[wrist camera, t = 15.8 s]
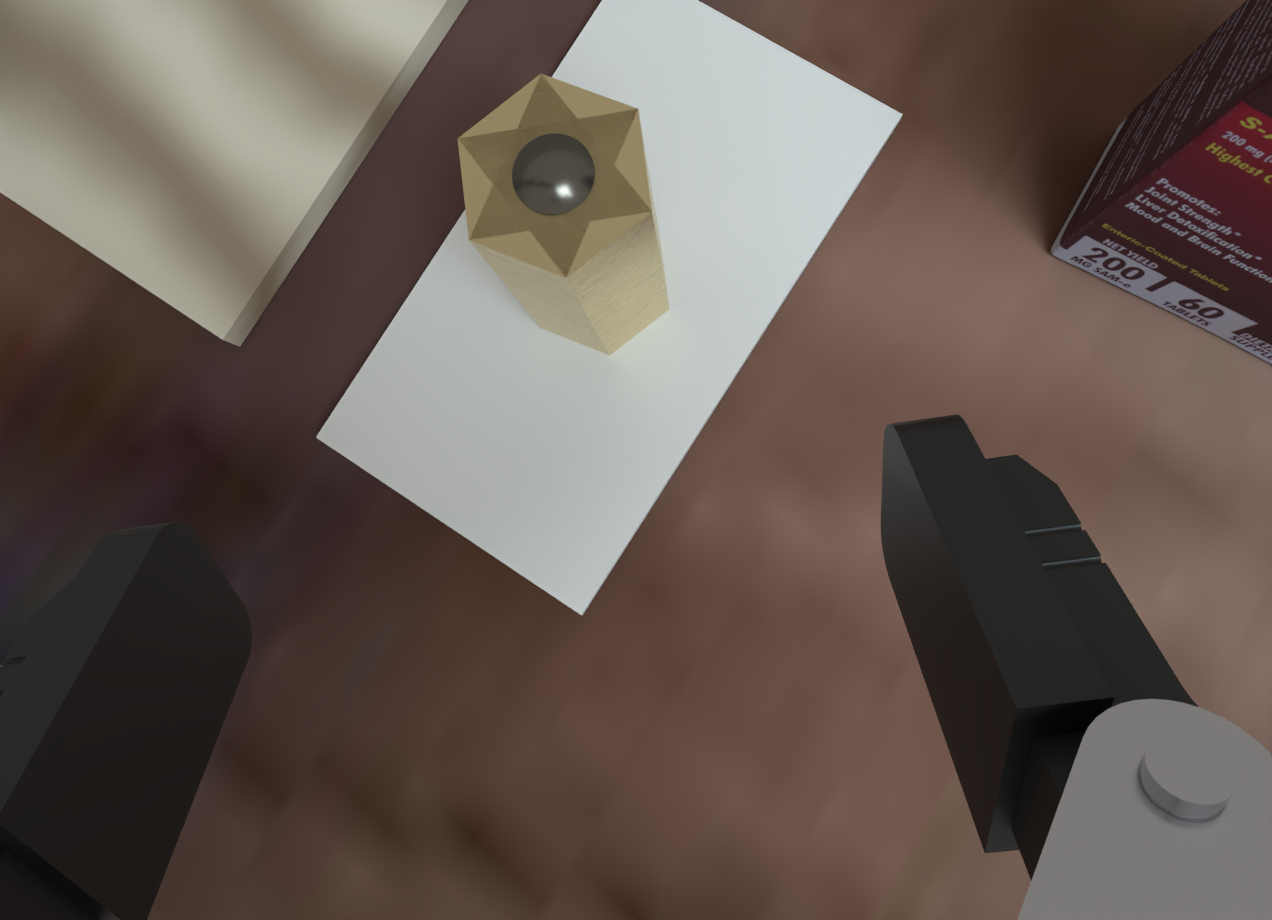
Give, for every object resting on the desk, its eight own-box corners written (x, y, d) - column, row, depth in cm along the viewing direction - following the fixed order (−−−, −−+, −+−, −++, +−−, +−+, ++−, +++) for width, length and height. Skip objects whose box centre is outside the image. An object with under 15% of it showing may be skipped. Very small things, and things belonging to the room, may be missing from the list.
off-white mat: (583, 614, 26) (581, 615, 26) (321, 438, 27) (315, 437, 27) (899, 120, 27) (902, 114, 26) (628, -31, 28) (627, -39, 27)
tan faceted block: (579, 378, 26) (522, 310, 18) (502, 278, 27) (414, 169, 19) (699, 286, 26) (695, 177, 18) (620, 187, 27) (582, 39, 19)
